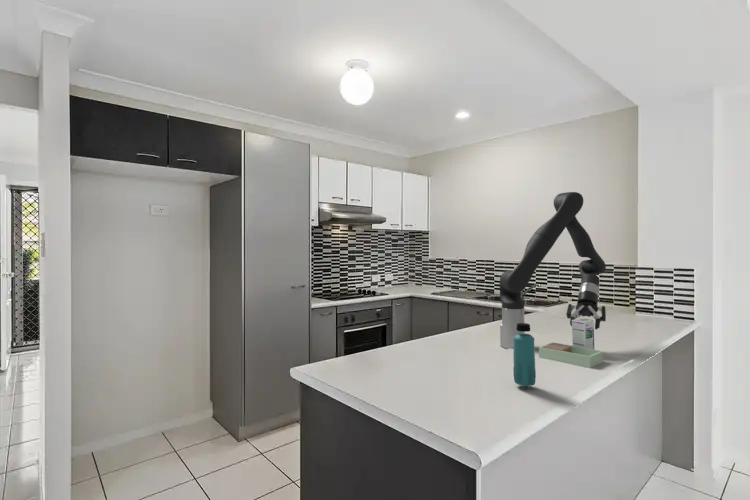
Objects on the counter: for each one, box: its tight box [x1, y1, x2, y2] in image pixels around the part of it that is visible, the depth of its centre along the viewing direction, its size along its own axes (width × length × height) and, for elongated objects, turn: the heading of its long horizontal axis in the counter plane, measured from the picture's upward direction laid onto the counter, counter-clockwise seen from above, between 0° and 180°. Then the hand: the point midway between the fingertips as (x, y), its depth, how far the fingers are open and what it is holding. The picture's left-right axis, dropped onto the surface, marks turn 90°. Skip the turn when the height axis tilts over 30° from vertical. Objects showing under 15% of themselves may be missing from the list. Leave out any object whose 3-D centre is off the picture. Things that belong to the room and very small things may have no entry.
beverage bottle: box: [512, 322, 537, 387], centre depth 128 cm, size 6×7×20 cm
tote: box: [538, 342, 604, 369], centre depth 156 cm, size 19×11×5 cm, turn 39°
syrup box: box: [571, 317, 595, 350], centre depth 163 cm, size 6×6×14 cm
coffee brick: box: [544, 343, 571, 353], centre depth 160 cm, size 7×8×4 cm
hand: (584, 327), depth 165 cm, fingers open, 8 cm apart
